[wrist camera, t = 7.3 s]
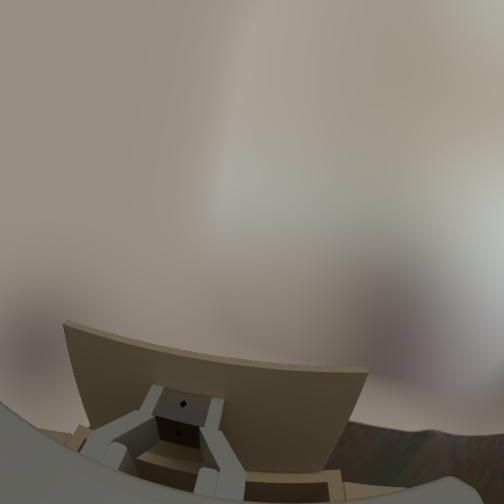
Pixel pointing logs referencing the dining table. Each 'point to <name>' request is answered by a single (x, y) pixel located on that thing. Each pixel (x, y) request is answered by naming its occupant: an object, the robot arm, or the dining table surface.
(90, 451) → the robot arm
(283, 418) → the flap
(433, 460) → the dining table surface
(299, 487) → the carton
